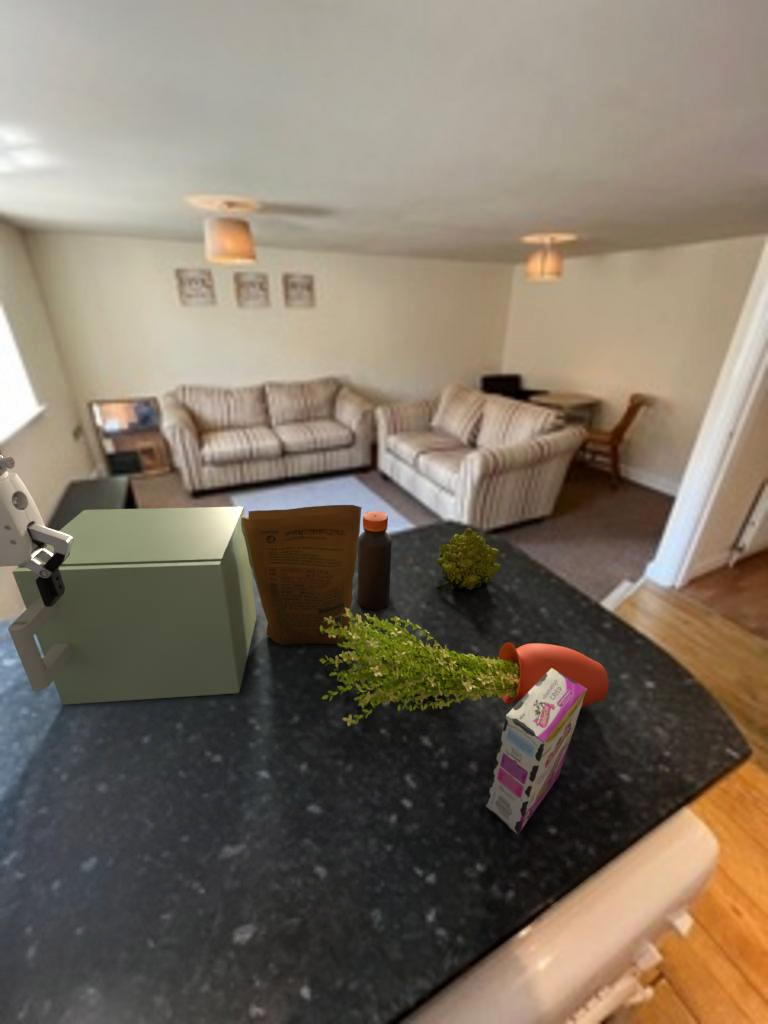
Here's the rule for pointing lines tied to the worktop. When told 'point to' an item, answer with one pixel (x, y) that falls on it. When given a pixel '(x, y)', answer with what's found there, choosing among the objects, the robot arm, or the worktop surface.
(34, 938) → the worktop surface
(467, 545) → the vegetable
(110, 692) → the door
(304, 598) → the pancake mix bag
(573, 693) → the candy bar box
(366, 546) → the bottle
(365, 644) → the potted plant
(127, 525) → the cabinet
